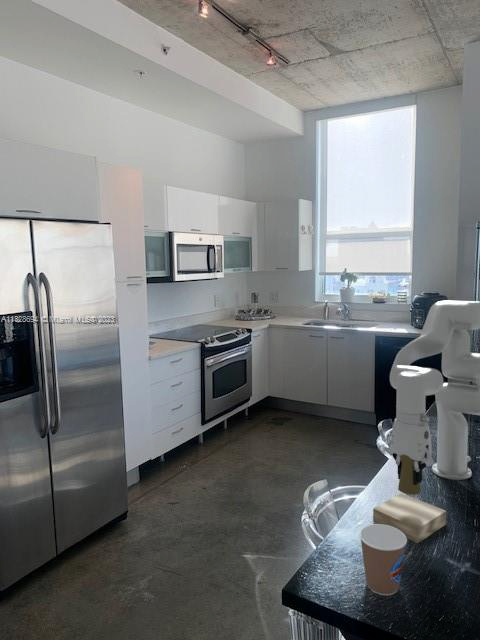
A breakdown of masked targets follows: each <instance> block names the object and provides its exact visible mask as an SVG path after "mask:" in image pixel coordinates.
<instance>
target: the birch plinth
mask: <svg viewBox="0 0 480 640" xmlns="http://www.w3.org/2000/svg"><path fill="white" fill-rule="evenodd" d="M372 510H373V511H372V523H375V524H383V525H388V526H392V527H394V528H397V529H399V530H400V531H401V532H403V533H404V534H405V536H406V538H407V540H410V541H412V542H415V543H416V544H419V543H420V542H422V541H423V540H425V539H426V538H429V536H431V535H432V534H434V533H435V532H437V531H439V530H440V529H441V528H443V527H444V526H446V525H447V510H444V509H442V508H441V507H437V506H436V505H432V504H430V503H427V502H425V501H422V500H420V499H418V498H416V497H412V496H410V495H409V494H405V493H402V492H400V493H399V494H397V495H396V496H393V497H392V498H389V499H388V500H386V501H385V502H382V503H381V504H379V505H377V506H375V507H373V508H372Z"/></svg>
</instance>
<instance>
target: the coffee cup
mask: <svg viewBox="0 0 480 640" xmlns="http://www.w3.org/2000/svg"><path fill="white" fill-rule="evenodd" d="M358 535H359V538H360V542H361V550H362V559H363V567H364V568H363V569H364V574H365V575H364V576H365V577H364V578H365V581H366V585H368V586H367V588H368V589H369V588H370V589H371V590H370V589H369V590H370V591H371V592H373V593H375V594H377V593H378V595H381V596H392V595H394V594H397V592H398V590H399V586H400V585H401V583H400V582H401V577H402V571H403V565H404V564H403V563H404V558H405V557H404V556H405V548H406V545H407V542H408V538H406V536H405V534H404V533H403V532H401V531H400V530H399V529H397V528H394V527H392V526H388V525H383V524H377V523H375V524H369V525H365V526H364V527H362V528H361V529H360V530H359V533H358Z"/></svg>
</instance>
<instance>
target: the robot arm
mask: <svg viewBox="0 0 480 640" xmlns="http://www.w3.org/2000/svg"><path fill="white" fill-rule="evenodd" d="M470 330H471V331H475V330H480V301H478V300H451V299H450V300H447V299H445V300H439V301H436V302H435V303H434V304H432V305H431V306H430V308H429V311H428V313H427V316H426V319H425V322H424V324H423V327H422V330H421V333H420V336H419V337H417V338H415V339H413V340H411V341H410V342H408V343H407V344H406V345H404V346H403V347H402V348H401V349H400V350H399V351H398V352H397V354H396V356H395V359H394V361H393V364H392V366H391V369H390V372H389V383H390V386H391V387H392V388H393V389H395V390H396V403H395V404H396V405H395V407H396V412H395V413H396V416H395V418H394V421H393V424H392V430H391V436H390V437H391V439H390V440H391V441H390V445H388V447H387V448H386V449H387V451H388V453H389V454H390V455H391V456H392V458H393V459H394V461H395V464H396V466H397V478H398V480H399V479H400V473H401V467H402V462H401V460H400V455H407V456H409V457H410V458H411V459H413V460H414V462H415V463H414V466H415V471H413V484H414V485H417V484H418V482H419V483H420V484H421V483H422V481H423V470H425V469H426V468H427V467H431V466H432V467H431V471H432V472H433V473H434V474H435V475H437V476H438V477H441V478H444V479H448V480H454V481H455V480H456V481H457V480H458V481H461V480H462V481H463V480H467V479H469V478H471V477H472V474H473V473H472V470H471V468H470V467H467V466H468V463H469V462H470V461H471V460H472V458H471V456H470V455H468V439H469V438H468V435H469V434H468V431H469V427H468V426H469V425H468V422H467V421H468V420H467V419H466V418H465V416H464V415H463V414H469V415H473V416H474V415H475V416H480V352H471V349H470V348H471V336H470V334H469V332H468V331H470ZM438 354H441V371H439V370H438V369H436V368H432V367H425V366H417V365H411V364H412V363H414V362H415V361H418V360H419V359H424V358H428V357H431V356H432V357H433V356H434V355H438ZM444 377H445V378H448V379H452V380H458V381H459V380H460V381H466V382H467V381H468V382H474V383H475V385H472V384H466V383H465V384H464V383H457V382H444ZM433 395H434V396H435V403H436V409H437V411H436V412H437V413H436V414H437V435H436V436H437V441H436V452H437V453H436V462H435V460H434V459H433V457H432V438H431V432H430V431H431V430H430V427H429V426H430V425H429V423H428V422H429V421H430V417H429V416H427V413H426V399H427V396H433ZM424 460H425V461H424Z"/></svg>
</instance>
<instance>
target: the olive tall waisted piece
mask: <svg viewBox="0 0 480 640" xmlns="http://www.w3.org/2000/svg"><path fill="white" fill-rule="evenodd" d="M400 460H401V462H402V467H401V473H400V479H398V480H399V481H398V487H397V490H398V491H399V492H400V493H403V494H405V495H409V496H410V495H411V496H413V495H414V496H415V495H419V494H421V492H422V489H421V483H419V482H418V484H417V485H414V484H413V471H415V466H414V463H415V462H414V460H413V459H411V458H410V457H409V456H407V455H400Z"/></svg>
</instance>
